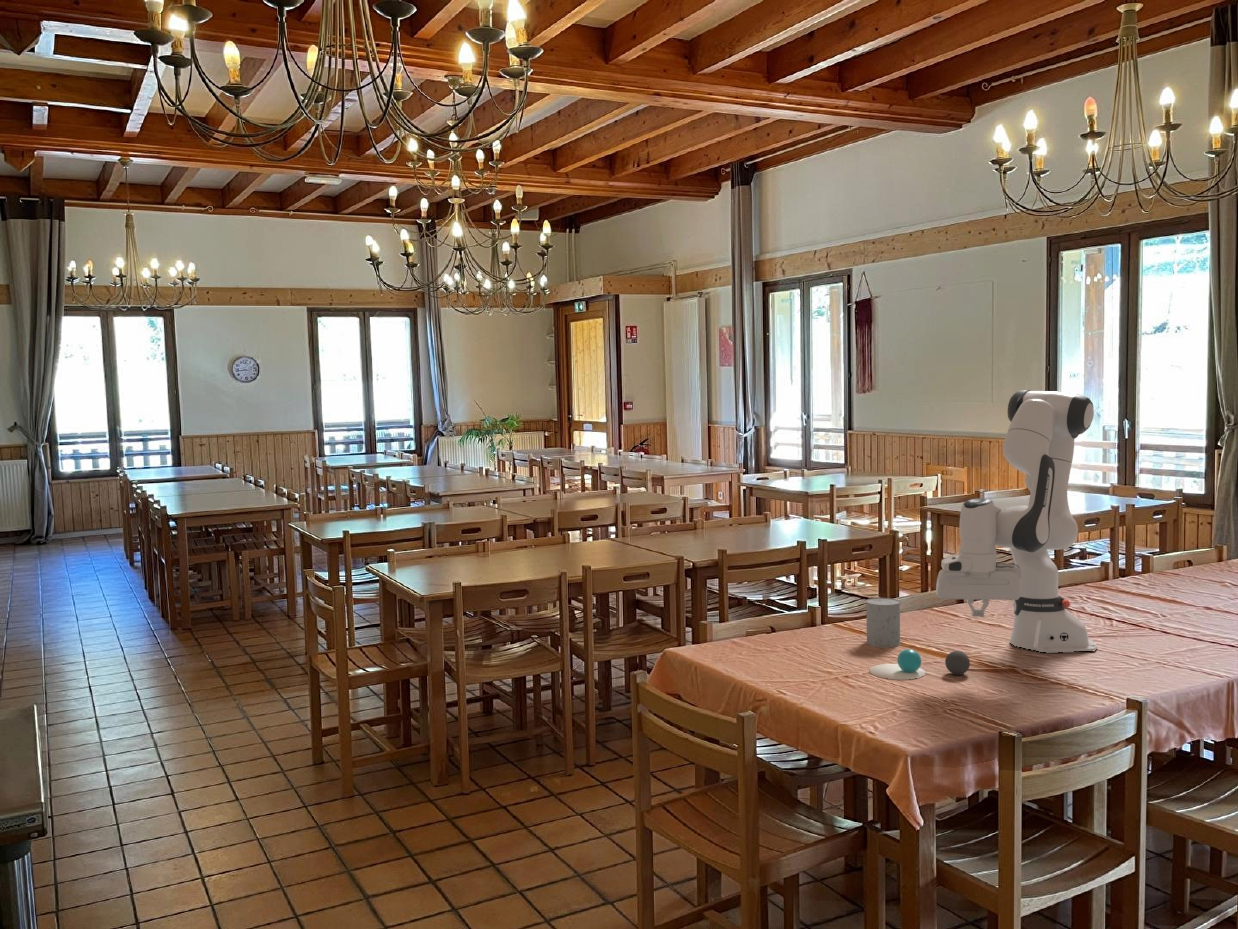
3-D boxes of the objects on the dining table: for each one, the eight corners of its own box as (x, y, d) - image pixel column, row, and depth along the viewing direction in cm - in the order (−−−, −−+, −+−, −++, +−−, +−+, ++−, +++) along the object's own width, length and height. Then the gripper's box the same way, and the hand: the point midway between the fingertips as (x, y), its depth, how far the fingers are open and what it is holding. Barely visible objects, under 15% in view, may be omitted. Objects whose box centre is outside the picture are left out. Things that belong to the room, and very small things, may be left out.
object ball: (914, 643, 262) (892, 651, 263) (916, 649, 256) (894, 657, 257) (924, 664, 262) (902, 672, 263) (926, 670, 256) (903, 678, 257)
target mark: (922, 665, 266) (922, 664, 266) (927, 680, 252) (927, 679, 252) (868, 663, 269) (868, 663, 269) (870, 679, 255) (870, 678, 255)
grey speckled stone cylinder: (901, 640, 292) (901, 598, 291) (899, 648, 283) (899, 605, 282) (867, 638, 295) (867, 597, 294) (864, 646, 286) (864, 604, 285)
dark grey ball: (953, 643, 259) (938, 660, 260) (958, 650, 253) (942, 668, 254) (971, 657, 259) (956, 674, 260) (977, 665, 253) (961, 682, 254)
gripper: (1018, 560, 255) (1018, 614, 256) (935, 560, 259) (935, 612, 260) (1023, 565, 249) (1023, 620, 250) (937, 564, 253) (938, 618, 254)
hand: (977, 616), depth 255 cm, fingers closed
